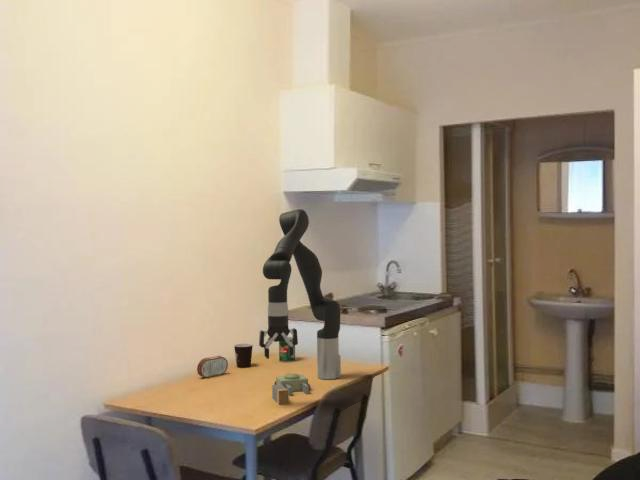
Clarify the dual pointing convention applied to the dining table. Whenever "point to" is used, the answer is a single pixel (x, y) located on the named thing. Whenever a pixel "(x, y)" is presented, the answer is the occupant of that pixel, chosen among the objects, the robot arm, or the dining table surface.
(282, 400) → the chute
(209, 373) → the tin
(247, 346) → the coffee mug
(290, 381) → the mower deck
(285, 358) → the canned tomato
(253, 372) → the dining table surface
